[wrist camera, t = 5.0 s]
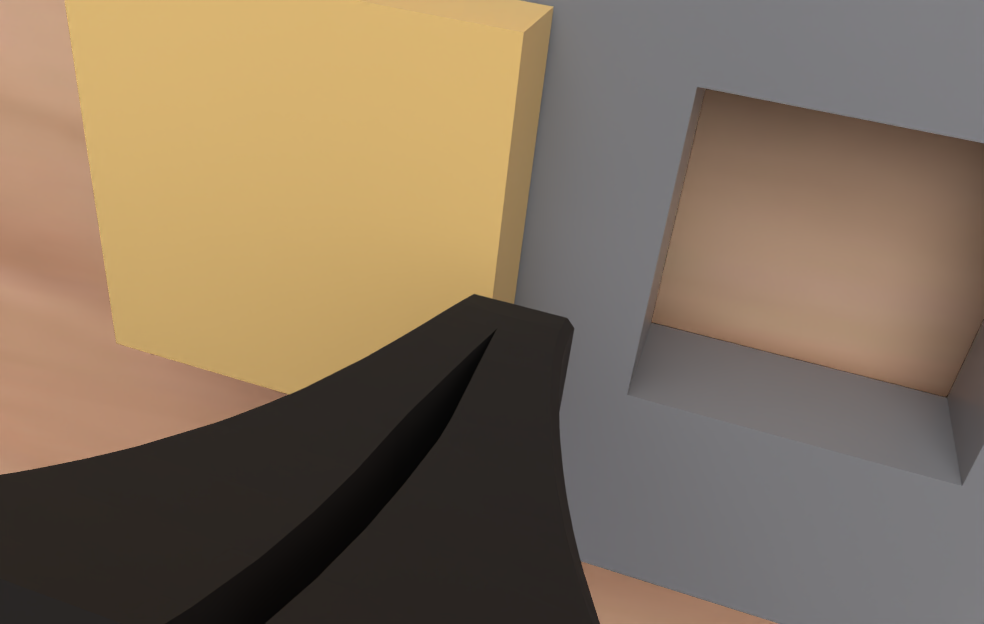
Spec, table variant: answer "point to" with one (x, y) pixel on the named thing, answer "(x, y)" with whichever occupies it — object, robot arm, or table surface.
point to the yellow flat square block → (304, 170)
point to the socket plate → (731, 367)
